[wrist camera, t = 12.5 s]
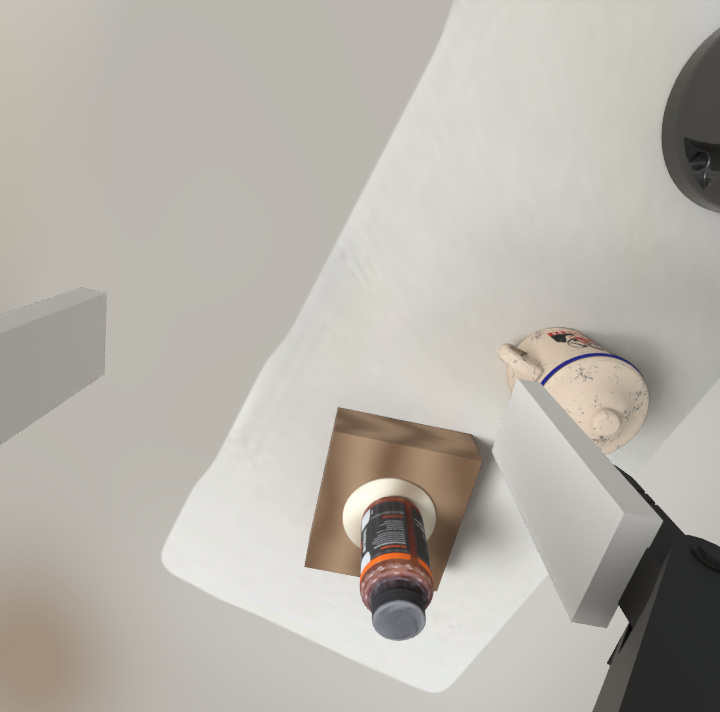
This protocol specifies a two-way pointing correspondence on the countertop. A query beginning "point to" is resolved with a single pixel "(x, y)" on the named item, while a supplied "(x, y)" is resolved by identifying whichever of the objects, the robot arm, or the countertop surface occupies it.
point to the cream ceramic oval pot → (583, 383)
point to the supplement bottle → (395, 568)
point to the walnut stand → (390, 486)
